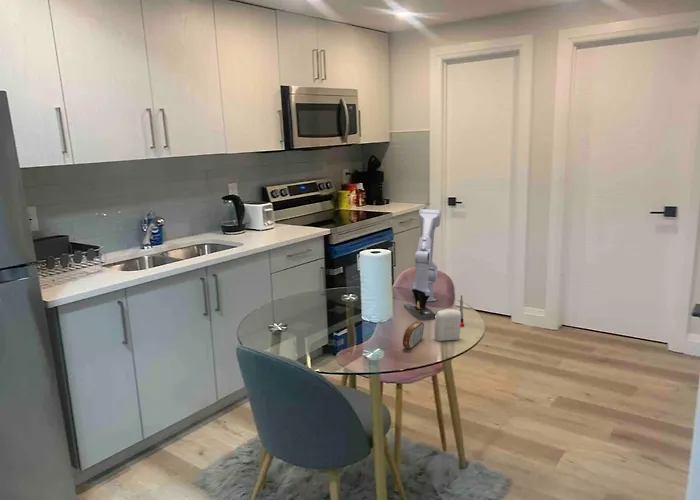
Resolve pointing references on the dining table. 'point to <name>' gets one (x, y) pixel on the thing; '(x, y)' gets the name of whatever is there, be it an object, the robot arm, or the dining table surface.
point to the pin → (419, 306)
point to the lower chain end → (409, 307)
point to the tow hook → (461, 311)
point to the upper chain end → (423, 313)
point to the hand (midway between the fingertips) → (420, 306)
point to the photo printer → (447, 325)
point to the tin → (413, 334)
